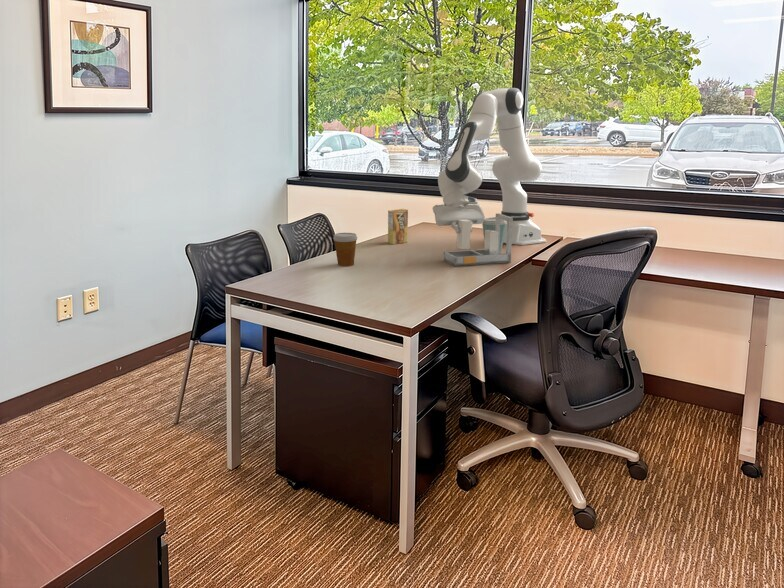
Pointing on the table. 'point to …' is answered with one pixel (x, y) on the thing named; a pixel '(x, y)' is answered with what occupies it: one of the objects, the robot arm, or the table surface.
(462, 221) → the cream rectangular block
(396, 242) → the candy box
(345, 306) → the table surface
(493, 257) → the rack
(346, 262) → the disposable coffee cup
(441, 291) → the table surface
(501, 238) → the disposable coffee cup
